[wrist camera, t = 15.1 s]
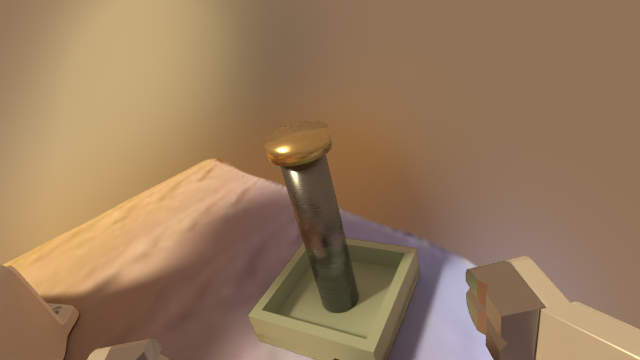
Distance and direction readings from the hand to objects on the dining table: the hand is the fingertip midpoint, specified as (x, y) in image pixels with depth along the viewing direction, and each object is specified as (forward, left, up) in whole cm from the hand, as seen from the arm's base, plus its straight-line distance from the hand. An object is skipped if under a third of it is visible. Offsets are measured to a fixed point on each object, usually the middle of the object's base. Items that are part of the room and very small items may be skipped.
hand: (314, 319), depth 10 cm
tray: (-9, +14, -17) cm, 24 cm away
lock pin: (-9, +14, -16) cm, 23 cm away
